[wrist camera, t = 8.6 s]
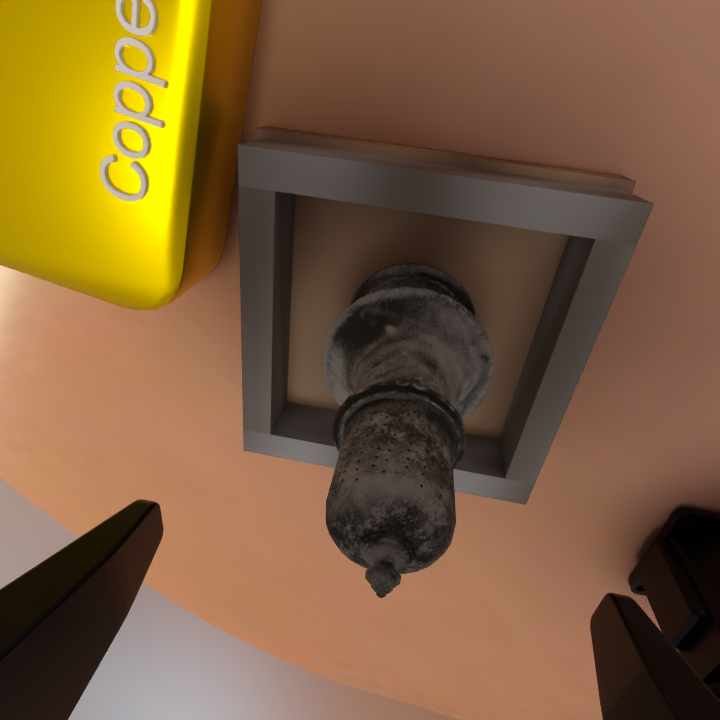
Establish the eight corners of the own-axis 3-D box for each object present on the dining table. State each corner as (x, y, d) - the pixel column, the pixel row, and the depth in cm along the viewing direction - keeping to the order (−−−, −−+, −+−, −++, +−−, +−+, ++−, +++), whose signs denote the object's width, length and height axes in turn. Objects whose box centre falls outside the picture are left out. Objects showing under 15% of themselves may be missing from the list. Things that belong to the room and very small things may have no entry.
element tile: (220, 289, 21) (168, 334, 17) (-94, 179, 21) (-226, 199, 17) (292, -160, 14) (228, -276, 9) (-203, -347, 13) (-496, -553, 9)
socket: (623, 176, 16) (669, 194, 13) (517, 453, 23) (530, 510, 19) (266, 126, 17) (227, 132, 14) (264, 406, 24) (237, 454, 20)
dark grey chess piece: (458, 400, 20) (485, 711, 10) (329, 368, 20) (221, 641, 10) (505, 275, 17) (613, 530, 7) (353, 239, 17) (235, 436, 7)
